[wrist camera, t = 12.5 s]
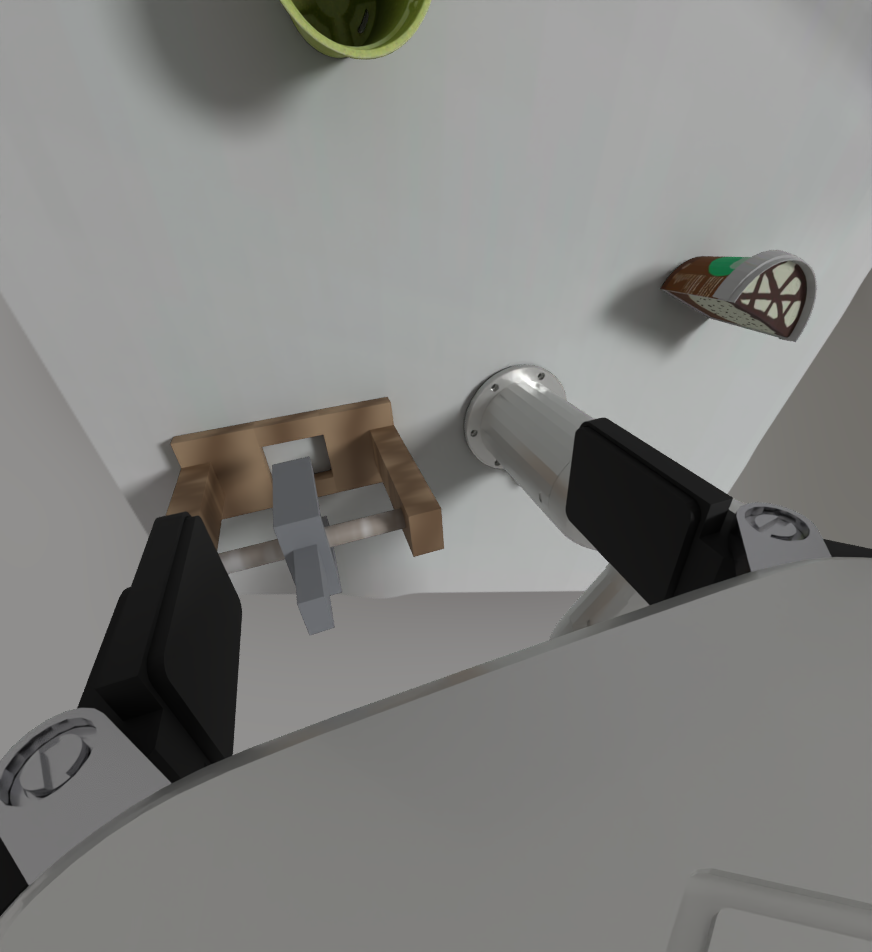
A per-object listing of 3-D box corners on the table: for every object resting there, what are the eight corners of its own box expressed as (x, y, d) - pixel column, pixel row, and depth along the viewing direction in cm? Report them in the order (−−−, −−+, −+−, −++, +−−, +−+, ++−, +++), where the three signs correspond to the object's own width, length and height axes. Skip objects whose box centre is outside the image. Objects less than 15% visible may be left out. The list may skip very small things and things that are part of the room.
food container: (750, 270, 50) (842, 282, 42) (717, 322, 52) (798, 343, 44) (685, 223, 44) (777, 227, 36) (651, 283, 47) (731, 300, 39)
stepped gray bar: (329, 525, 40) (352, 645, 29) (296, 534, 39) (307, 660, 29) (309, 456, 36) (327, 566, 25) (272, 464, 35) (273, 581, 24)
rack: (387, 396, 44) (439, 480, 30) (397, 471, 49) (445, 570, 35) (173, 436, 39) (124, 555, 26) (208, 514, 44) (182, 647, 31)
